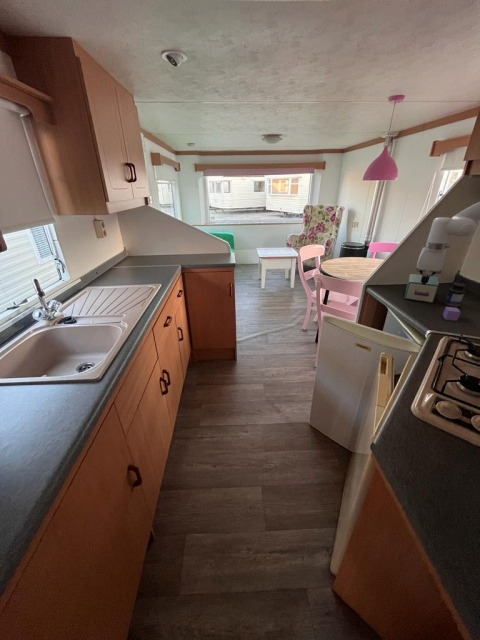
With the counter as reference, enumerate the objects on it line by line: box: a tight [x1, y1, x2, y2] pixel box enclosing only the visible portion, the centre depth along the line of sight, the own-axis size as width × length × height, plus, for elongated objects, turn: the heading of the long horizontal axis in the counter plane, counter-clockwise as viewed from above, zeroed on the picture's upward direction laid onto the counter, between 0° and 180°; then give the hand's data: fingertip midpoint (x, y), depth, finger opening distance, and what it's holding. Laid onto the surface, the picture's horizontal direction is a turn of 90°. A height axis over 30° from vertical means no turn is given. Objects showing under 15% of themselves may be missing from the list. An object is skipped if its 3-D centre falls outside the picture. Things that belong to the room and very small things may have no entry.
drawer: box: [406, 283, 438, 303], centre depth 138 cm, size 18×11×8 cm, turn 149°
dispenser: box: [404, 273, 440, 304], centre depth 141 cm, size 15×13×10 cm
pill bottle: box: [444, 282, 466, 308], centre depth 129 cm, size 6×6×11 cm
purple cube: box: [442, 306, 461, 322], centre depth 119 cm, size 4×4×4 cm
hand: (423, 283), depth 131 cm, fingers closed
